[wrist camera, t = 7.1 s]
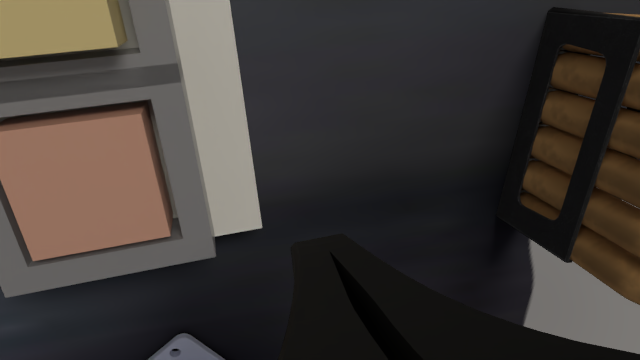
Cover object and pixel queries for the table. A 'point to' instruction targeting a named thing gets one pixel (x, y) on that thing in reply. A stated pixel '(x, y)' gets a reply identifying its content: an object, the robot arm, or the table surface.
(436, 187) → the table surface
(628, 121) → the ammunition clip
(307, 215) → the table surface
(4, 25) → the ochre key
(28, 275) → the button pad
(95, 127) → the terracotta key
